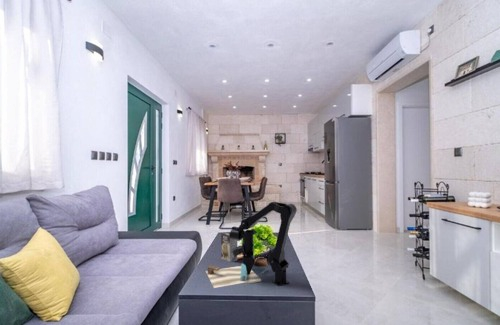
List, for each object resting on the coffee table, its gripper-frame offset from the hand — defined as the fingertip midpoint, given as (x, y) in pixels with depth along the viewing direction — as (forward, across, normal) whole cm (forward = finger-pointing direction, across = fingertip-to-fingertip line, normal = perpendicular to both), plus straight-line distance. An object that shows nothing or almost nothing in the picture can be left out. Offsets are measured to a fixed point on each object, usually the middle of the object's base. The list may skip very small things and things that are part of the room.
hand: (248, 270), depth 136 cm
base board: (+2, +3, -8) cm, 9 cm away
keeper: (+1, +1, -18) cm, 18 cm away
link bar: (+1, +1, -2) cm, 3 cm away
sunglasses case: (+3, -19, +8) cm, 21 cm away
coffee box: (+2, -23, -11) cm, 26 cm away
